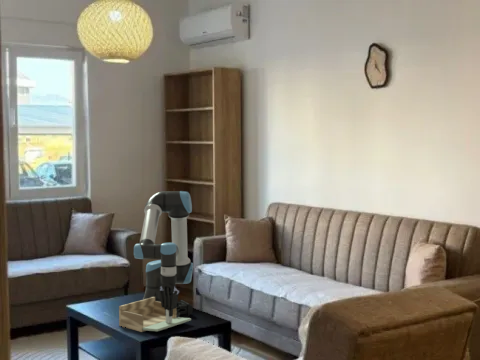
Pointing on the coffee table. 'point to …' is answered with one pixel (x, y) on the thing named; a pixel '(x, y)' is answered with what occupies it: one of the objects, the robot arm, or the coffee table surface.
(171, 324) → the panel
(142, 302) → the wooden tray box
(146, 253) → the robot arm
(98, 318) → the coffee table surface
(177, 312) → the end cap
